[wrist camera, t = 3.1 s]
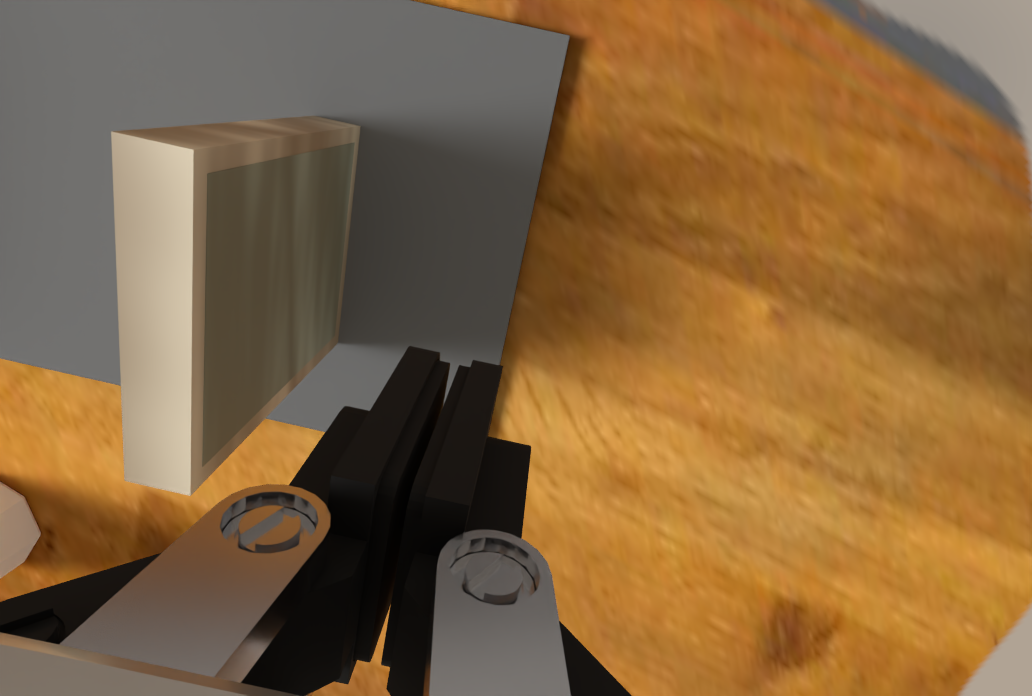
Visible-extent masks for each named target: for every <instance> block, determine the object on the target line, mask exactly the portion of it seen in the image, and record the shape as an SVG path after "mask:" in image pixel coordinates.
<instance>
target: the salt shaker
mask: <svg viewBox="0 0 1032 696" xmlns="http://www.w3.org/2000/svg"><path fill="white" fill-rule="evenodd" d="M40 535H41V532H40V530H39V527H38V525H37V523H36V521H35V519H34V516H33V514H32V512H31V510H30V508H29V505H28V503H27V501H26V499H25V497H24V496H22V495H21V494H19V493H18V492H16V491H15V490H13V489H11V488H10V487H8V486H7V485H5V484H3V483H2V482H0V578H2V577H3V576H5V575H6V574H7V573H9V572H10V571H12V570H13V569H15V568H16V567H18V566H19V565H20V564H22V563H23V562H24V561H25V560H26V558H27V557H28V555H29V553H30V552H31V550H32V548H33V547H34V545H35V544H36V542H37V540H38V539H39V537H40Z"/></svg>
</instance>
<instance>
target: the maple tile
mask: <svg viewBox="0 0 1032 696" xmlns="http://www.w3.org/2000/svg"><path fill="white" fill-rule="evenodd" d="M360 127H361V126H358V125H354V124H349V123H345V122H340V121H336V120H331V119H327V118H322V117H318V116H302V117H290V118H277V119H264V120H251V121H238V122H226V123H213V124H200V125H187V126H174V127H161V128H149V129H136V130H123V131H111V140H112V166H113V192H114V218H115V244H116V270H117V296H118V322H119V348H120V374H121V400H122V426H123V452H124V478H125V481H128V482H132V483H136V484H141V485H145V486H150V487H154V488H158V489H163V490H167V491H172V492H176V493H180V494H185V495H189V496H191V495H192V494H193V493H194V492H195V491H196V489H197V488H198V487H199V486H200V485H201V484H202V483H203V482H204V481H205V480H206V479H207V478H208V477H209V476H210V475H211V474H212V473H213V472H214V471H215V470H216V469H217V468H218V467H219V466H220V465H221V464H222V463H223V462H224V460H225V459H226V458H227V457H228V456H229V455H230V454H231V453H232V452H233V451H234V450H235V449H236V448H237V447H238V446H239V445H240V444H241V443H242V442H243V441H244V440H245V439H246V438H247V437H248V436H249V435H250V434H251V433H252V431H253V430H254V429H255V428H256V427H257V426H258V425H259V424H260V423H261V422H262V421H263V420H264V419H265V418H266V417H267V416H268V415H269V414H270V413H271V412H272V411H273V410H274V409H275V408H276V407H277V406H278V405H279V404H280V403H281V401H282V400H283V399H284V398H285V397H286V396H287V395H288V394H289V393H290V392H291V391H292V390H293V389H294V388H295V387H296V386H297V385H298V384H299V383H300V382H301V381H302V380H303V379H304V378H305V377H306V376H307V375H308V374H309V372H310V371H311V370H312V369H313V368H314V367H315V366H316V365H317V364H318V363H319V362H320V361H321V360H322V359H323V358H324V357H325V356H326V355H327V354H328V353H329V352H330V351H331V350H332V349H333V348H334V347H335V346H336V345H337V343H338V337H339V327H340V318H341V308H342V299H343V289H344V279H345V270H346V260H347V251H348V241H349V232H350V222H351V213H352V203H353V193H354V184H355V174H356V165H357V155H358V146H359V136H360Z"/></svg>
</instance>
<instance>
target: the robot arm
mask: <svg viewBox="0 0 1032 696" xmlns="http://www.w3.org/2000/svg"><path fill="white" fill-rule="evenodd" d="M502 368H503V366H500V365H495V364H491V363H486V362H482V361H477V360H473V361H472V364H471V366H470V367H467V366H462V365H459V367H458V369H457V372H456V374H455V377H454V380H453V382H452V385H451V387H450V390H449V392H448V395H447V398H446V400H445V403H444V398H445V393H446V387H447V381H448V376H449V370H450V363H448V362H444V361H440V352H436V351H431V350H427V349H422V348H418V347H413V346H409V347H408V348H407V350H406V352H405V353H404V355H403V356H402V358H401V360H400V361H399V363H398V365H397V366H396V368H395V370H394V371H393V373H392V375H391V376H390V378H389V380H388V381H387V383H386V385H385V386H384V388H383V390H382V391H381V393H380V395H379V396H378V398H377V400H376V401H375V403H374V405H373V406H372V408H371V410H370V411H368V410H364V409H359V408H355V407H350V406H344V407H343V408H342V409H341V411H340V412H339V413H338V415H337V416H336V418H335V419H334V421H333V422H332V424H331V425H330V426H329V428H328V429H327V431H326V432H325V434H324V435H323V437H322V438H321V440H320V441H319V442H318V444H317V445H316V447H315V448H314V450H313V451H312V453H311V454H310V455H309V457H308V458H307V460H306V461H305V463H304V464H303V466H302V467H301V468H300V470H299V471H298V473H297V474H296V476H295V477H294V479H293V480H292V481H291V483H290V484H289V485H273V484H266V485H260V486H255V487H249V488H246V489H243V490H241V491H238V492H235V493H233V494H231V495H229V496H228V497H226V498H225V499H224V500H222V501H221V502H219V503H218V504H217V505H215V506H214V507H213V508H212V509H211V510H210V511H209V512H208V513H206V514H205V515H204V516H203V517H202V518H201V519H200V520H199V521H197V522H196V523H195V524H194V525H193V526H192V527H191V528H190V529H188V530H187V531H186V532H185V533H184V534H183V535H182V536H181V537H179V538H178V539H177V540H176V541H175V542H174V543H173V544H172V545H170V546H169V547H168V548H167V549H166V550H165V551H164V552H163V553H160V554H156V555H153V556H150V557H146V558H143V559H140V560H136V561H133V562H130V563H127V564H123V565H120V566H117V567H113V568H110V569H107V570H103V571H100V572H97V573H93V574H90V575H87V576H83V577H80V578H77V579H74V580H70V581H67V582H64V583H60V584H57V585H54V586H50V587H47V588H44V589H40V590H37V591H34V592H30V593H27V594H24V595H21V596H17V597H14V598H11V599H7V600H5V601H2V602H0V696H312V694H313V692H314V691H316V690H318V689H320V688H322V687H324V686H326V685H328V684H330V683H332V682H334V681H335V682H339V683H344V684H348V683H349V680H350V678H351V675H352V672H353V670H354V667H355V664H356V661H357V660H360V661H365V662H370V661H371V659H372V656H373V654H374V651H375V648H376V645H377V642H378V639H379V636H380V633H381V630H382V627H383V624H384V622H385V619H386V616H387V613H388V610H389V607H390V604H391V607H390V613H389V619H388V625H387V631H386V637H385V643H384V649H383V655H382V662H381V665H384V666H388V667H390V672H389V677H388V683H387V690H388V692H389V693H390V695H391V696H631V695H630V694H629V693H628V692H627V691H626V689H625V688H624V687H623V686H622V685H621V684H620V683H619V682H618V681H617V680H616V679H615V678H614V677H613V676H612V675H611V674H610V673H609V672H608V671H607V670H606V669H605V668H604V667H603V666H602V665H601V664H600V663H599V661H598V660H597V659H596V658H595V657H594V656H593V655H592V654H591V653H590V652H589V651H588V650H587V649H586V648H585V647H584V646H583V645H582V644H581V643H580V642H579V641H578V640H577V639H576V638H575V637H574V636H573V635H572V633H571V632H570V631H569V630H568V629H567V628H566V627H565V626H564V625H563V624H562V623H561V622H560V621H559V618H558V612H557V605H556V599H555V593H554V586H553V580H552V575H551V572H550V569H549V566H548V563H547V561H546V560H545V559H544V558H543V556H542V555H541V554H540V552H539V551H538V550H537V549H536V548H534V547H533V546H532V545H530V544H529V543H528V542H526V541H525V540H523V539H521V537H522V528H523V518H524V509H525V500H526V491H527V481H528V472H529V463H530V454H531V446H529V445H524V444H520V443H515V442H511V441H506V440H501V439H497V438H492V437H488V433H489V429H490V424H491V419H492V415H493V410H494V406H495V401H496V396H497V392H498V387H499V382H500V378H501V373H502ZM443 404H444V405H443Z"/></svg>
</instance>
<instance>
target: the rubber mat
mask: <svg viewBox="0 0 1032 696" xmlns="http://www.w3.org/2000/svg"><path fill="white" fill-rule="evenodd" d="M569 38H570V36H569V35H564V34H560V33H555V32H551V31H546V30H542V29H537V28H533V27H528V26H524V25H519V24H515V23H510V22H505V21H501V20H496V19H492V18H487V17H483V16H478V15H474V14H469V13H465V12H460V11H456V10H451V9H447V8H442V7H438V6H433V5H429V4H424V3H420V2H415V1H411V0H0V358H1V359H6V360H10V361H14V362H19V363H23V364H28V365H32V366H37V367H41V368H45V369H50V370H54V371H59V372H63V373H67V374H72V375H76V376H81V377H85V378H89V379H94V380H98V381H103V382H107V383H112V384H116V385H120V386H121V374H120V348H119V322H118V296H117V270H116V244H115V218H114V192H113V166H112V140H111V131H123V130H136V129H149V128H161V127H174V126H187V125H200V124H213V123H226V122H238V121H251V120H264V119H277V118H290V117H302V116H318V117H322V118H327V119H331V120H336V121H340V122H345V123H349V124H354V125H358V126H361V127H360V136H359V146H358V155H357V165H356V174H355V184H354V193H353V203H352V213H351V222H350V232H349V241H348V251H347V260H346V270H345V279H344V289H343V299H342V308H341V318H340V327H339V337H338V343H337V345H336V346H335V347H334V348H333V349H332V350H331V351H330V352H329V353H328V354H327V355H326V356H325V357H324V358H323V359H322V360H321V361H320V362H319V363H318V364H317V365H316V366H315V367H314V368H313V369H312V370H311V371H310V372H309V374H308V375H307V376H306V377H305V378H304V379H303V380H302V381H301V382H300V383H299V384H298V385H297V386H296V387H295V388H294V389H293V390H292V391H291V392H290V393H289V394H288V395H287V396H286V397H285V398H284V399H283V400H282V401H281V403H280V404H279V405H278V406H277V407H276V408H275V409H274V410H273V411H272V412H271V413H270V414H269V415H268V416H267V417H266V419H271V420H275V421H279V422H284V423H288V424H293V425H297V426H301V427H306V428H310V429H315V430H319V431H324V432H326V431H327V429H328V428H329V426H330V425H331V424H332V422H333V421H334V419H335V418H336V416H337V415H338V413H339V412H340V411H341V409H342V408H343V407H344V406H350V407H355V408H359V409H364V410H368V411H370V410H371V408H372V406H373V405H374V403H375V401H376V400H377V398H378V396H379V395H380V393H381V391H382V390H383V388H384V386H385V385H386V383H387V381H388V380H389V378H390V376H391V375H392V373H393V371H394V370H395V368H396V366H397V365H398V363H399V361H400V360H401V358H402V356H403V355H404V353H405V352H406V350H407V348H408V347H409V346H413V347H418V348H422V349H427V350H431V351H436V352H440V361H444V362H448V363H450V370H449V376H448V381H447V387H446V393H445V398H444V403H445V400H446V398H447V395H448V392H449V390H450V387H451V385H452V382H453V380H454V377H455V374H456V372H457V369H458V367H459V365H462V366H467V367H470V366H471V364H472V361H473V360H477V361H482V362H486V363H491V364H495V365H500V361H501V356H502V352H503V347H504V342H505V338H506V333H507V328H508V324H509V319H510V314H511V310H512V305H513V300H514V296H515V291H516V286H517V282H518V277H519V272H520V268H521V263H522V258H523V254H524V249H525V244H526V240H527V235H528V230H529V225H530V221H531V216H532V211H533V207H534V202H535V197H536V193H537V188H538V183H539V179H540V174H541V169H542V165H543V160H544V155H545V151H546V146H547V141H548V137H549V132H550V127H551V123H552V118H553V113H554V108H555V104H556V99H557V94H558V90H559V85H560V80H561V76H562V71H563V66H564V62H565V57H566V52H567V48H568V43H569ZM443 405H444V404H443Z"/></svg>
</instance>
